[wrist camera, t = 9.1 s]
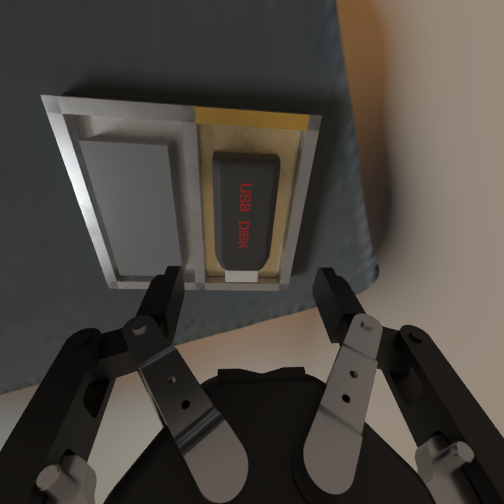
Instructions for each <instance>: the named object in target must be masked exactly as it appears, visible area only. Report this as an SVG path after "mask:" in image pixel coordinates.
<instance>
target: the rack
mask: <svg viewBox="0 0 504 504" xmlns="http://www.w3.org/2000/svg"><path fill="white" fill-rule="evenodd" d="M41 98H42V101H43V104H44V106H45V109H46V112H47V115H48V118H49V121H50V123H51V126H52V129H53V132H54V135H55V137H56V140H57V143H58V146H59V149H60V151H61V154H62V157H63V160H64V163H65V166H66V168H67V171H68V174H69V177H70V180H71V182H72V185H73V188H74V191H75V194H76V197H77V199H78V202H79V205H80V208H81V211H82V213H83V216H84V219H85V222H86V225H87V228H88V230H89V233H90V236H91V239H92V242H93V244H94V247H95V250H96V253H97V256H98V258H99V261H100V264H101V267H102V270H103V273H104V275H105V278H106V281H107V284H108V287H109V289H148V287H149V285H150V282H151V280H152V279H153V278H155V277H156V276H136V275H120V273H119V270H118V267H117V263H116V260H115V257H114V254H113V251H112V247H111V244H110V241H109V238H108V234H107V231H106V228H105V225H104V221H103V218H102V215H101V212H100V208H99V205H98V202H97V199H96V195H95V192H94V189H93V186H92V182H91V179H90V176H89V173H88V169H87V166H86V163H85V160H84V157H83V153H82V150H81V147H80V144H79V140H81V139H85V138H88V137H92V136H99V137H116V138H132V139H148V140H164V141H174V150H175V160H176V169H177V178H178V188H179V197H180V206H181V216H182V225H183V234H184V244H185V253H186V262H187V265H186V268H185V272H184V275H183V278H184V286H185V290H247V291H287V290H288V285H289V280H290V275H291V270H292V265H293V260H294V255H295V250H296V245H297V240H298V235H299V230H300V225H301V220H302V215H303V209H304V204H305V199H306V194H307V189H308V184H309V179H310V174H311V169H312V164H313V159H314V154H315V149H316V144H317V139H318V134H319V129H320V124H321V119H322V115H318V114H314V113H300V112H287V111H273V110H260V109H246V108H233V107H219V106H206V105H192V104H179V103H165V102H151V101H138V100H124V99H111V98H97V97H84V96H70V95H41ZM214 152H233V153H252V154H272V155H278V156H279V158H280V163H281V166H280V177H279V185H278V193H277V202H276V210H275V218H274V226H273V235H272V243H271V251H270V257H269V259H268V260H267V262H266V264H265V265H264V267H263V268H262V269H261V270H259V272H258V282H225V269H223V268H222V267H221V265H220V264H219V262H218V260H217V258H216V256H215V237H214V206H213V176H212V158H213V153H214Z"/></svg>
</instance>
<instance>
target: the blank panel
mask: <svg viewBox="0 0 504 504" xmlns="http://www.w3.org/2000/svg"><path fill="white" fill-rule="evenodd" d="M79 144H80V147H81V150H82V153H83V157H84V160H85V163H86V166H87V169H88V173H89V176H90V179H91V182H92V186H93V189H94V192H95V195H96V199H97V202H98V205H99V208H100V212H101V215H102V218H103V221H104V225H105V228H106V231H107V234H108V238H109V241H110V244H111V247H112V251H113V254H114V257H115V260H116V263H117V267H118V270H119V273H120V275H136V276H157V275H164V273H165V271H166V268H167V266H182V271H183V275H184V272H185V268H186V265H187V262H186V253H185V244H184V234H183V225H182V216H181V206H180V197H179V188H178V178H177V169H176V160H175V150H174V141H164V140H148V139H132V138H116V137H99V136H92V137H88V138H85V139H81V140H79Z"/></svg>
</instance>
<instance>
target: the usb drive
mask: <svg viewBox="0 0 504 504" xmlns="http://www.w3.org/2000/svg"><path fill="white" fill-rule="evenodd" d="M280 166H281V163H280V158H279V156H278V155H272V154H252V153H233V152H214V153H213V158H212V176H213V206H214V237H215V256H216V258H217V260H218V262H219V264H220V265H221V267H222V268H223V269H225V282H258V272H259V270H261V269H262V268H263V267H264V265H265V264H266V262H267V260H268V259H269V257H270V251H271V243H272V235H273V226H274V218H275V210H276V202H277V193H278V185H279V177H280Z"/></svg>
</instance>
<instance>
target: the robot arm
mask: <svg viewBox="0 0 504 504" xmlns="http://www.w3.org/2000/svg"><path fill="white" fill-rule="evenodd" d="M184 292H185V286H184V278H183V271H182V266H167V268H166V271H165V273H164V275H157V276H156V277H155V278H153V279H152V280H151V282H150V285H149V287H148V289H147V291H146V295H145V296H144V298H143V301H142V303H141V305H140V308H139V310H138V312H137V314H136V317H134V318H132V319H130V320H129V321H128V322H127V323H126V324H125V325H124V327H123V328H121V329H118V330H115V331H111V332H107V333H103V334H101V332H100V331H99V330H98V329H95V328H87V329H83V330H80V331H78V332H76V333H74V334H73V335H72V336H70V337H69V338H68V339H67V341H66V342H65V343H64V345H63V347H62V349H61V350H60V352H59V354H58V355H57V357H56V359H55V360H54V362H53V364H52V365H51V367H50V369H49V370H48V372H47V374H46V375H45V377H44V379H43V380H42V382H41V384H40V385H39V387H38V389H37V391H36V392H35V394H34V396H33V397H32V399H31V401H30V402H29V404H28V406H27V407H26V409H25V411H24V412H23V414H22V416H21V418H20V419H19V421H18V423H17V424H16V426H15V428H14V429H13V431H12V433H11V434H10V436H9V438H8V439H7V441H6V443H5V444H4V446H3V448H2V450H1V451H0V504H95V500H94V494H95V488H96V474H95V471H94V470H93V469H92V468H91V467H90V466H89V465H88V464H87V461H88V458H89V455H90V452H91V449H92V446H93V444H94V440H95V438H96V435H97V432H98V429H99V426H100V423H101V420H102V418H103V415H104V412H105V409H106V406H107V403H108V400H109V397H110V394H111V391H112V389H113V386H114V383H115V380H116V378H117V377H120V376H123V375H126V374H129V373H132V372H135V371H137V372H138V374H139V376H140V378H141V380H142V383H143V385H144V387H145V389H146V391H147V393H148V395H149V397H150V400H151V402H152V404H153V406H154V409H155V411H156V413H157V416H158V418H159V420H160V422H161V424H162V426H163V428H162V430H161V431H160V432H159V433H158V434H157V436H156V437H155V438H154V439H153V441H152V442H151V443H150V444H149V445H148V447H147V448H146V449H145V450H144V452H143V453H142V454H141V455H140V456H139V458H138V459H137V460H136V461H135V463H134V464H133V465H132V466H131V467H130V469H129V470H128V471H127V472H126V473H125V475H124V476H123V477H122V478H121V480H120V481H119V482H118V483H117V484H116V486H115V487H114V488H113V490H112V491H111V492H110V494H109V495H108V497H107V498H106V500H105V502H104V503H103V504H504V438H503V437H502V435H501V434H500V433H499V431H498V430H497V428H496V427H495V426H494V424H493V423H492V421H491V420H490V419H489V417H488V416H487V415H486V413H485V412H484V411H483V409H482V408H481V407H480V405H479V404H478V402H477V401H476V400H475V398H474V397H473V395H472V394H471V393H470V391H469V390H468V389H467V387H466V386H465V384H464V383H463V382H462V380H461V379H460V378H459V376H458V375H457V373H456V372H455V371H454V369H453V368H452V366H451V365H450V364H449V362H448V361H447V360H446V358H445V357H444V356H443V354H442V353H441V351H440V350H439V349H438V347H437V346H436V344H435V343H434V342H433V340H432V339H431V338H430V336H429V335H428V334H427V333H426V332H425V331H423V330H422V329H420V328H418V327H415V326H412V325H404V326H402V327H401V329H400V330H399V331H398V330H394V329H390V328H386V327H383V326H381V324H380V322H379V321H378V320H376V319H375V318H374V317H372V316H370V315H367V314H366V313H365V311H364V309H363V308H362V306H361V304H360V303H359V301H358V299H357V297H356V296H355V295H354V292H353V291H352V290H351V287H350V286H349V284H348V282H347V281H346V280H345V279H343V278H342V277H341V276H337V275H336V273H335V272H334V270H333V268H318V270H317V274H316V277H315V281H314V284H313V297H314V300H315V302H316V305H317V307H318V310H319V313H320V315H321V318H322V320H323V323H324V326H325V328H326V331H327V333H328V336H329V339H330V341H331V343H339V345H340V349H339V351H338V354H337V356H336V359H335V361H334V364H333V366H332V369H331V371H330V374H329V376H328V379H327V381H326V383H324V382H322V381H321V380H319V379H318V378H316V377H313V376H311V375H308V374H305V370H304V367H284V368H280V369H277V370H273V371H270V372H267V373H262V374H261V373H256V372H252V371H248V370H243V369H218V376H216V377H213V378H211V379H208V380H207V381H205V382H203V383H202V384H199V382H198V381H197V380H196V378H195V376H194V375H193V373H192V372H191V370H190V369H189V367H188V366H187V364H186V363H185V361H184V359H183V358H182V356H181V355H180V353H179V352H178V350H177V349H176V348H175V347H171V345H172V344H173V339H174V335H175V331H176V327H177V323H178V319H179V315H180V311H181V306H182V302H183V298H184ZM377 368H378V369H381V370H382V372H383V374H384V376H385V378H386V381H387V383H388V385H389V387H390V389H391V391H392V393H393V396H394V398H395V400H396V402H397V404H398V406H399V408H400V411H401V413H402V415H403V417H404V419H405V421H406V423H407V425H408V427H409V430H410V432H411V434H412V436H413V438H414V441H415V443H416V445H417V447H418V449H417V450H416V452H415V460H416V464H417V468H418V474H417V473H416V471H415V470H414V469H413V468H412V467H411V466H410V465H409V464H408V463H407V462H406V461H405V460H404V459H403V458H402V457H401V456H400V455H398V454H397V453H396V451H394V450H393V449H392V448H391V447H390V446H389V445H388V444H387V443H386V442H385V441H384V440H383V439H382V438H381V437H380V436H379V435H378V434H377V433H376V432H375V431H374V430H373V429H372V428H371V427H370V426H369V425H368V424H367V423H366V422H365V416H366V412H367V408H368V404H369V399H370V395H371V391H372V386H373V382H374V378H375V373H376V369H377Z"/></svg>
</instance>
